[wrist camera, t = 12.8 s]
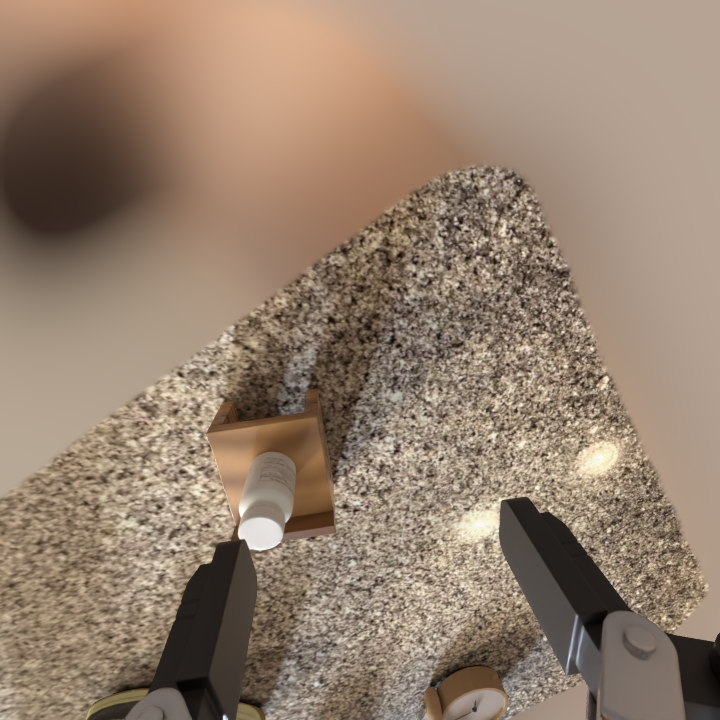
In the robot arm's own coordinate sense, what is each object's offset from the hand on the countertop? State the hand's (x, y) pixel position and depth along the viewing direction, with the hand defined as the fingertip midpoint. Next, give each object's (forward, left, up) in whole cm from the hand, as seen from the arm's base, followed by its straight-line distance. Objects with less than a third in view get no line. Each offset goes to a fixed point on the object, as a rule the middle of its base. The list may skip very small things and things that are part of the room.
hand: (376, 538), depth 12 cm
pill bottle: (+12, -8, -21) cm, 26 cm away
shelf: (+13, -8, -27) cm, 31 cm away
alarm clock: (+65, +11, -27) cm, 72 cm away
